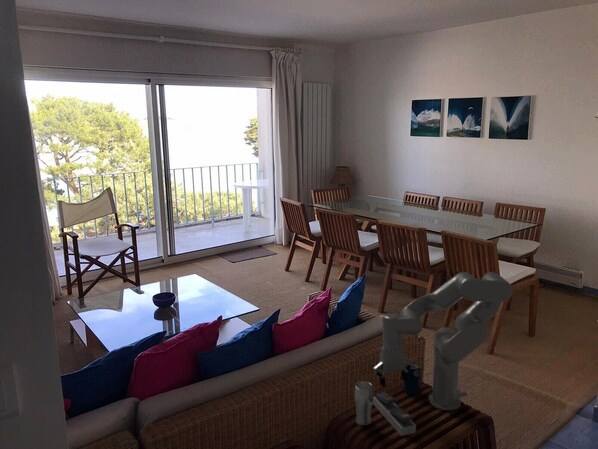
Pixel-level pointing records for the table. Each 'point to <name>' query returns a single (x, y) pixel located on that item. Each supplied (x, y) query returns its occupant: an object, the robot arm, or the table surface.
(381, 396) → the outlet rocker
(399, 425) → the power strip
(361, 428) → the table surface
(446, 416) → the table surface
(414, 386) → the soda can
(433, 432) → the table surface
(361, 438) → the table surface
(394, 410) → the outlet rocker
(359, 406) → the beer glass
